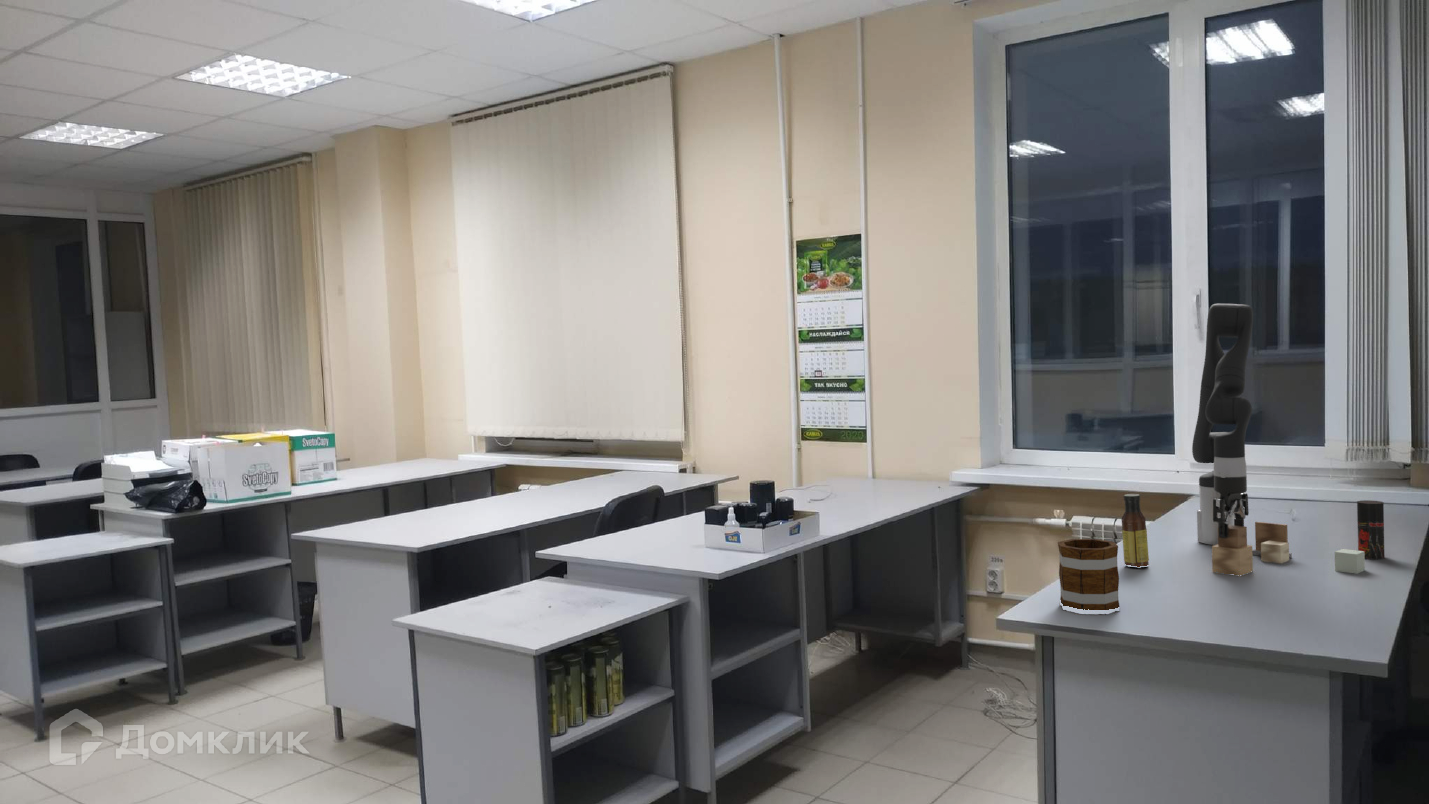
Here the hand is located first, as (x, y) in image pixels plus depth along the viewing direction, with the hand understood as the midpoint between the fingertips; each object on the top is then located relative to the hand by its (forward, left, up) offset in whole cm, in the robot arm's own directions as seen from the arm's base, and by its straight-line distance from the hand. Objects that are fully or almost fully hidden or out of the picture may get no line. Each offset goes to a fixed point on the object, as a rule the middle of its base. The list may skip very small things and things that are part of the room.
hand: (1231, 535), depth 249 cm
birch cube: (+2, +20, -10) cm, 22 cm away
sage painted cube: (+20, +20, -10) cm, 30 cm away
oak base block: (0, 0, -10) cm, 10 cm away
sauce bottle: (-21, -10, -10) cm, 25 cm away
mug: (-8, -52, -10) cm, 54 cm away
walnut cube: (0, 0, -3) cm, 3 cm away
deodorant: (+18, +40, -10) cm, 45 cm away
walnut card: (-1, +25, -10) cm, 27 cm away
